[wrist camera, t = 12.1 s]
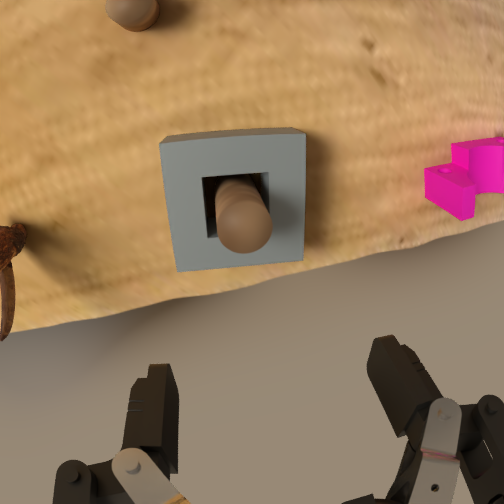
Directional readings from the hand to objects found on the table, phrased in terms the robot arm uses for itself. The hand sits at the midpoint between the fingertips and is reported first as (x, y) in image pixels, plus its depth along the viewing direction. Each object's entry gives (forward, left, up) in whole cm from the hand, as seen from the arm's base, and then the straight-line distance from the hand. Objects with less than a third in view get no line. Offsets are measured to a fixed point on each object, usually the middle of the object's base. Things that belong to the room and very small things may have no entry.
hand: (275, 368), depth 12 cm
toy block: (-30, -3, -23) cm, 38 cm away
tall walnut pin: (0, 0, -23) cm, 23 cm away
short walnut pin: (+8, -19, -23) cm, 31 cm away
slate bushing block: (0, 0, -23) cm, 23 cm away
